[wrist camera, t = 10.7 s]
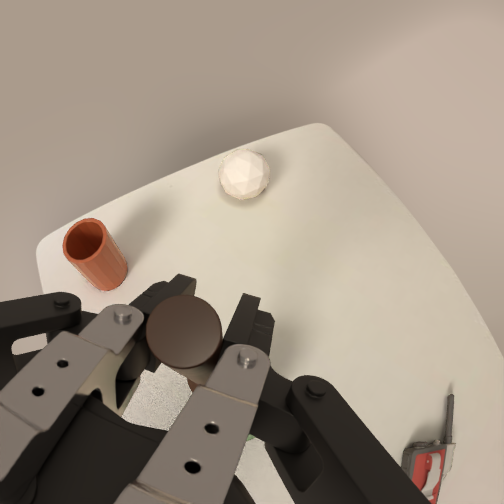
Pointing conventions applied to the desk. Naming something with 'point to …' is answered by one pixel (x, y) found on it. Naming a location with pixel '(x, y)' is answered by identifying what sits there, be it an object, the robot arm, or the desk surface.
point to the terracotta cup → (95, 254)
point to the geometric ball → (244, 174)
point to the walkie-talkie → (431, 460)
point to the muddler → (186, 337)
